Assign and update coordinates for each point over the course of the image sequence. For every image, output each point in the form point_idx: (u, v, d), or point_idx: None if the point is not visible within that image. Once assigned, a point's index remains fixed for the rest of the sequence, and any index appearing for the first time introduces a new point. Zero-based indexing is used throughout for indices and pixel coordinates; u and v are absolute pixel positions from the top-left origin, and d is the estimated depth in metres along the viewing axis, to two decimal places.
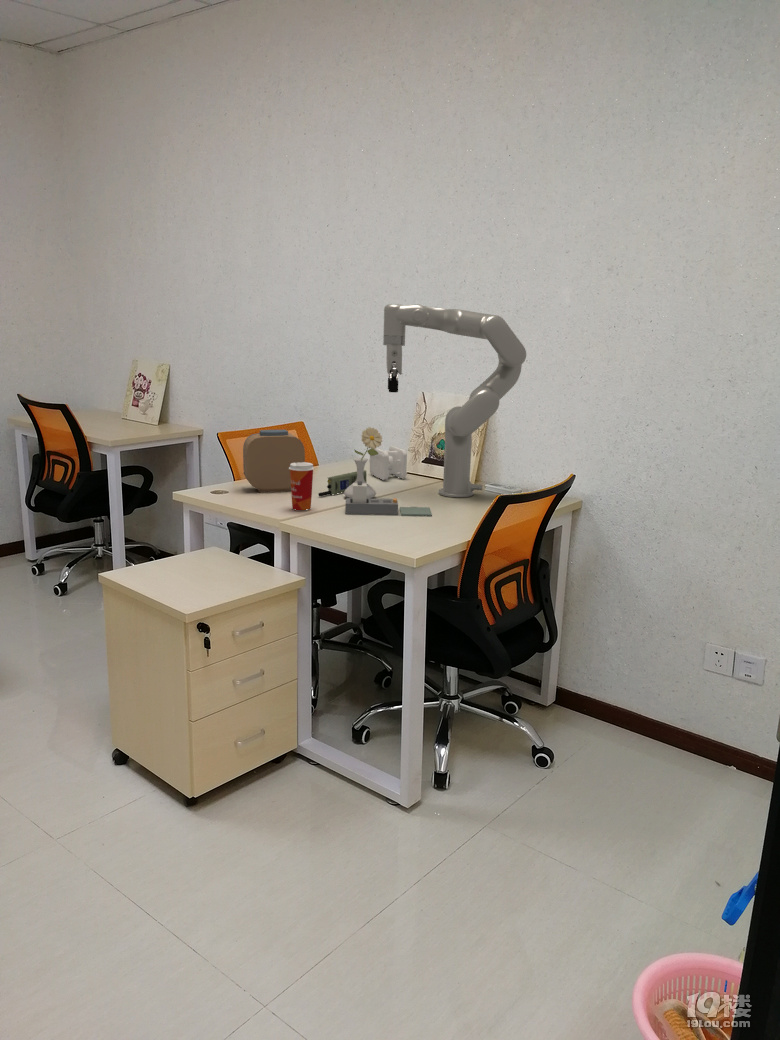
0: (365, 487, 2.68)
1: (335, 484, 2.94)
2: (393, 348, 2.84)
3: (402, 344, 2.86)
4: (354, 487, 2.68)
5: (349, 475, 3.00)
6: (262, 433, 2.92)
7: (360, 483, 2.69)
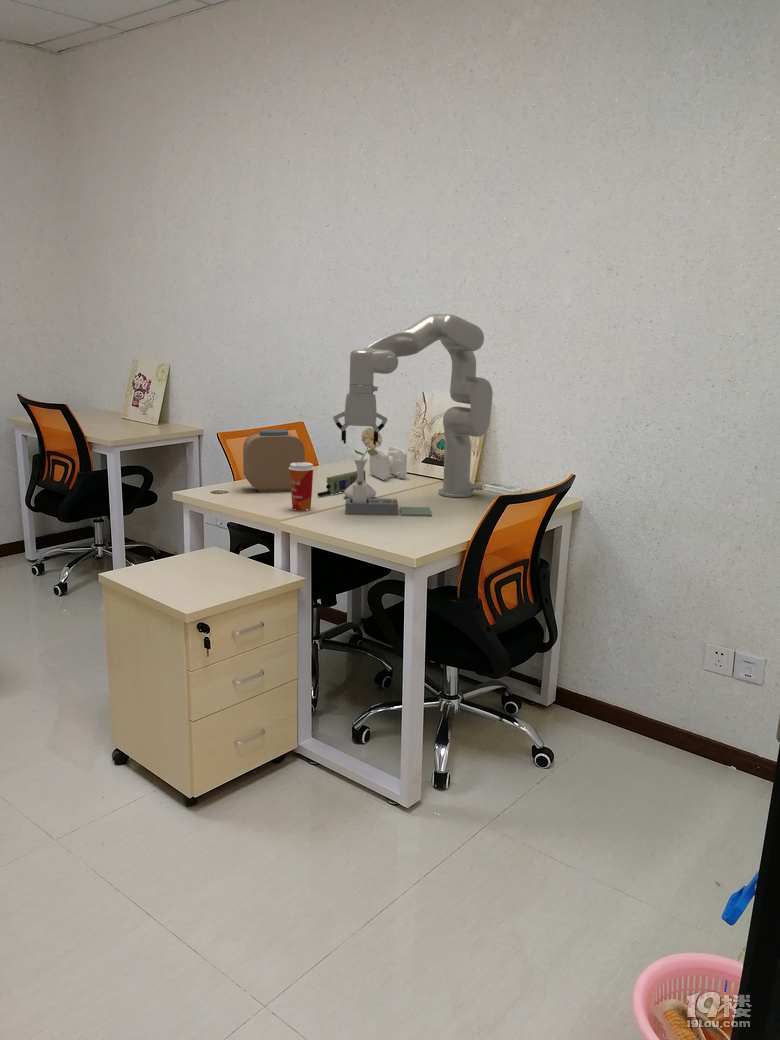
0: (365, 487, 2.68)
1: (334, 484, 2.94)
2: (375, 397, 2.63)
3: None
4: (354, 487, 2.68)
5: (348, 475, 3.00)
6: (262, 433, 2.92)
7: (360, 483, 2.69)
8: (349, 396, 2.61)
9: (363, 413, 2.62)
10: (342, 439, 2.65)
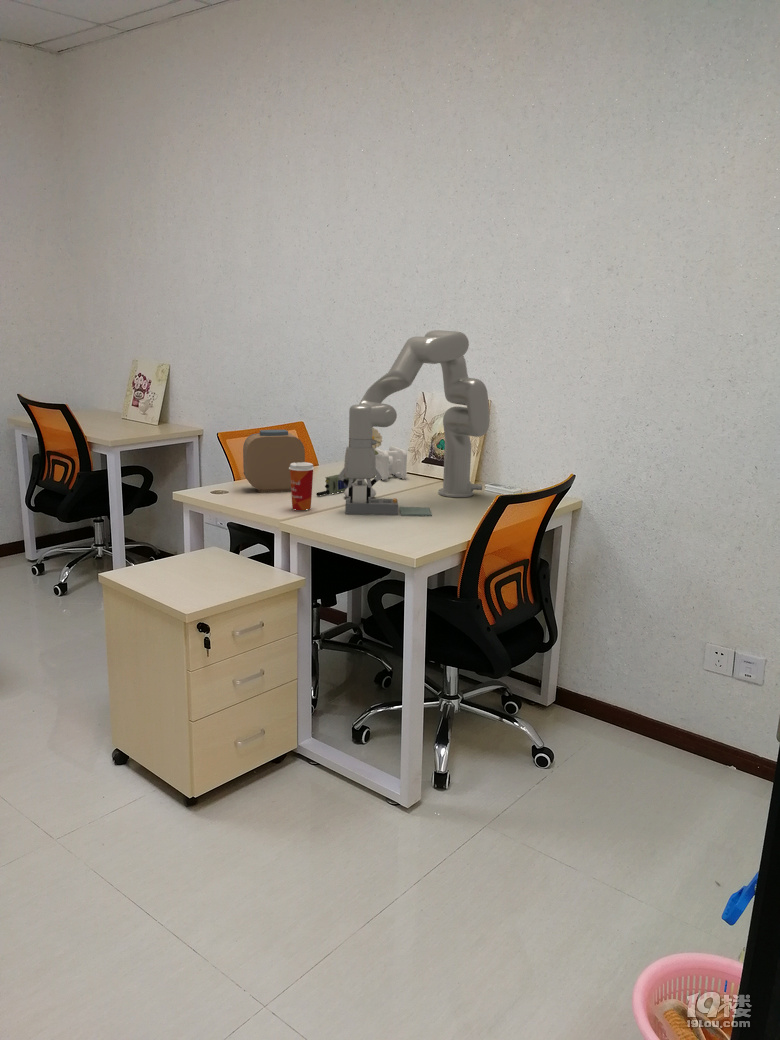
0: (365, 487, 2.68)
1: (333, 484, 2.95)
2: (374, 451, 2.67)
3: None
4: (354, 487, 2.68)
5: None
6: (262, 433, 2.92)
7: (360, 483, 2.69)
8: (349, 450, 2.65)
9: (363, 466, 2.66)
10: (349, 495, 2.70)
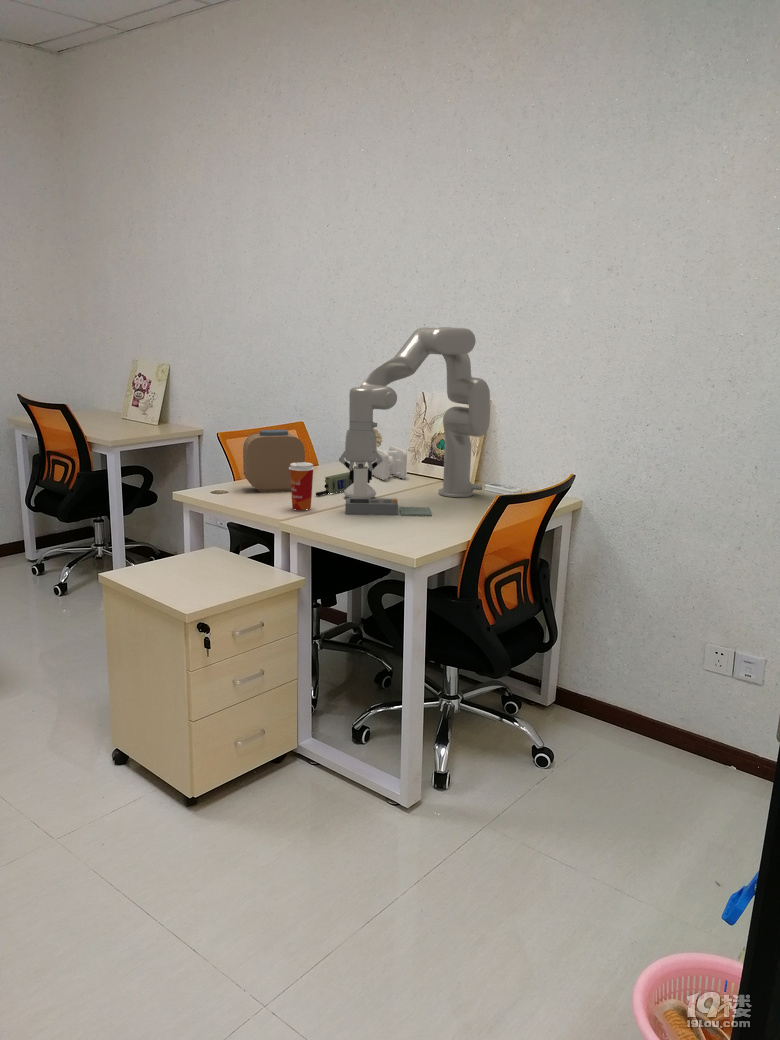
0: (366, 470, 2.67)
1: (332, 484, 2.95)
2: (375, 433, 2.66)
3: None
4: (355, 470, 2.67)
5: (346, 475, 3.01)
6: (262, 433, 2.92)
7: (361, 466, 2.68)
8: (349, 433, 2.64)
9: (364, 449, 2.65)
10: (350, 478, 2.69)
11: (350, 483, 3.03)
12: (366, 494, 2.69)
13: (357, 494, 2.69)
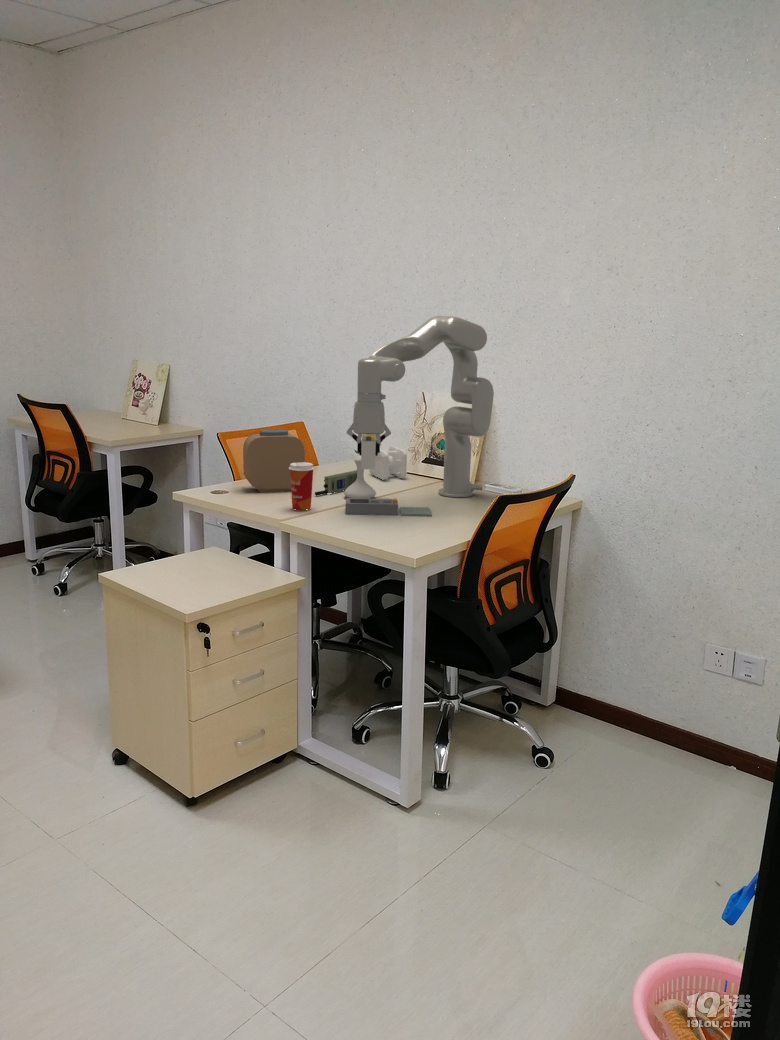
0: (374, 442, 2.65)
1: (331, 483, 2.95)
2: (383, 405, 2.64)
3: None
4: (363, 442, 2.65)
5: (346, 474, 3.01)
6: (262, 433, 2.92)
7: (369, 438, 2.66)
8: (357, 405, 2.62)
9: (372, 421, 2.63)
10: (358, 451, 2.67)
11: (349, 483, 3.03)
12: (374, 467, 2.67)
13: (364, 467, 2.67)
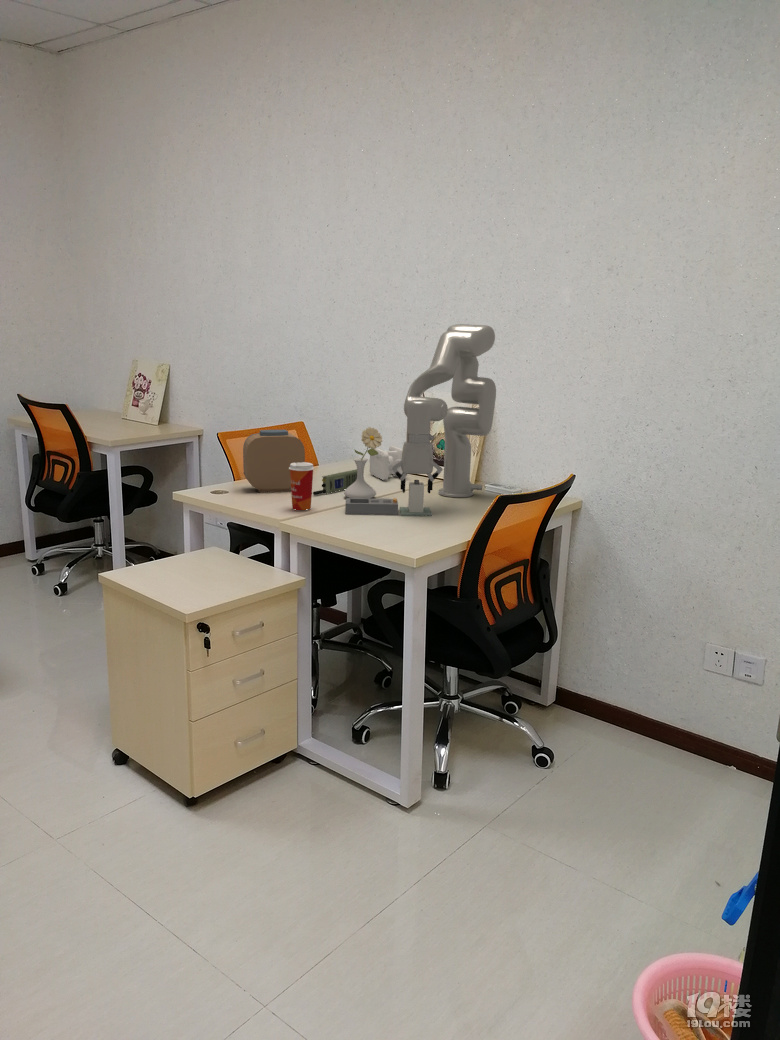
0: (422, 486, 2.69)
1: (329, 483, 2.96)
2: None
3: None
4: (411, 486, 2.69)
5: (344, 474, 3.02)
6: (262, 433, 2.92)
7: (417, 482, 2.70)
8: (407, 445, 2.66)
9: (421, 461, 2.67)
10: (401, 488, 2.70)
11: (347, 482, 3.04)
12: (422, 510, 2.71)
13: (413, 510, 2.71)
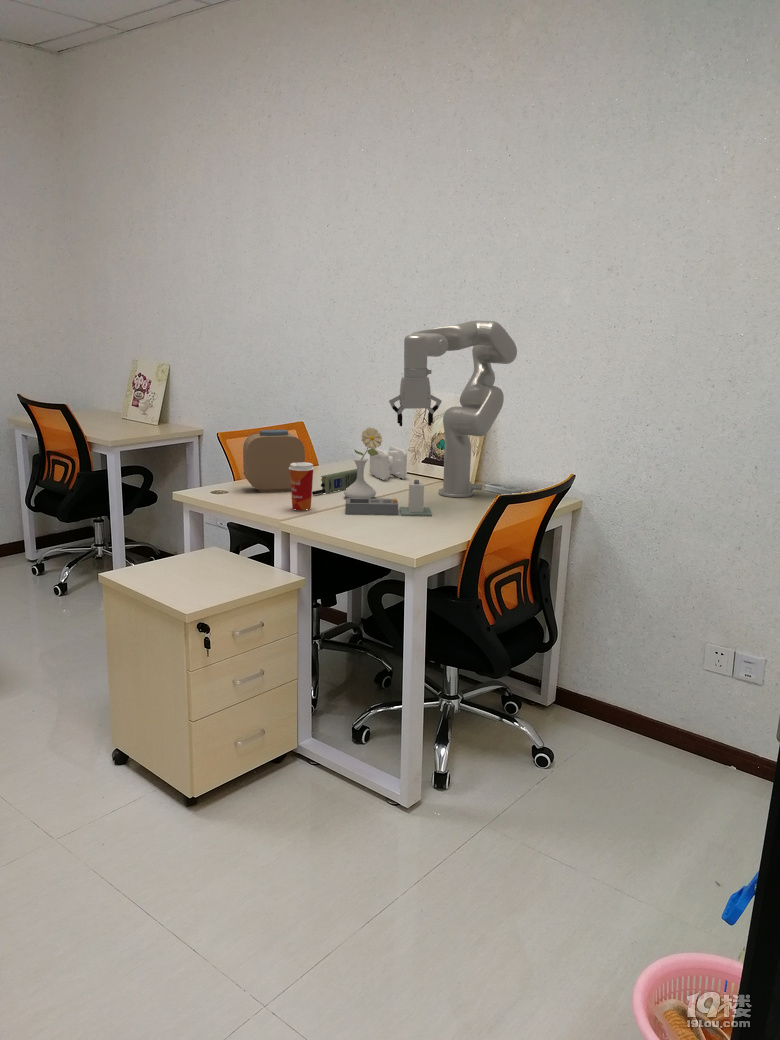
0: (422, 486, 2.69)
1: (328, 482, 2.96)
2: None
3: None
4: (411, 486, 2.69)
5: (343, 474, 3.02)
6: (262, 433, 2.92)
7: (417, 482, 2.70)
8: (405, 380, 2.70)
9: (419, 396, 2.71)
10: (398, 422, 2.75)
11: (347, 482, 3.04)
12: (422, 510, 2.71)
13: (413, 510, 2.71)
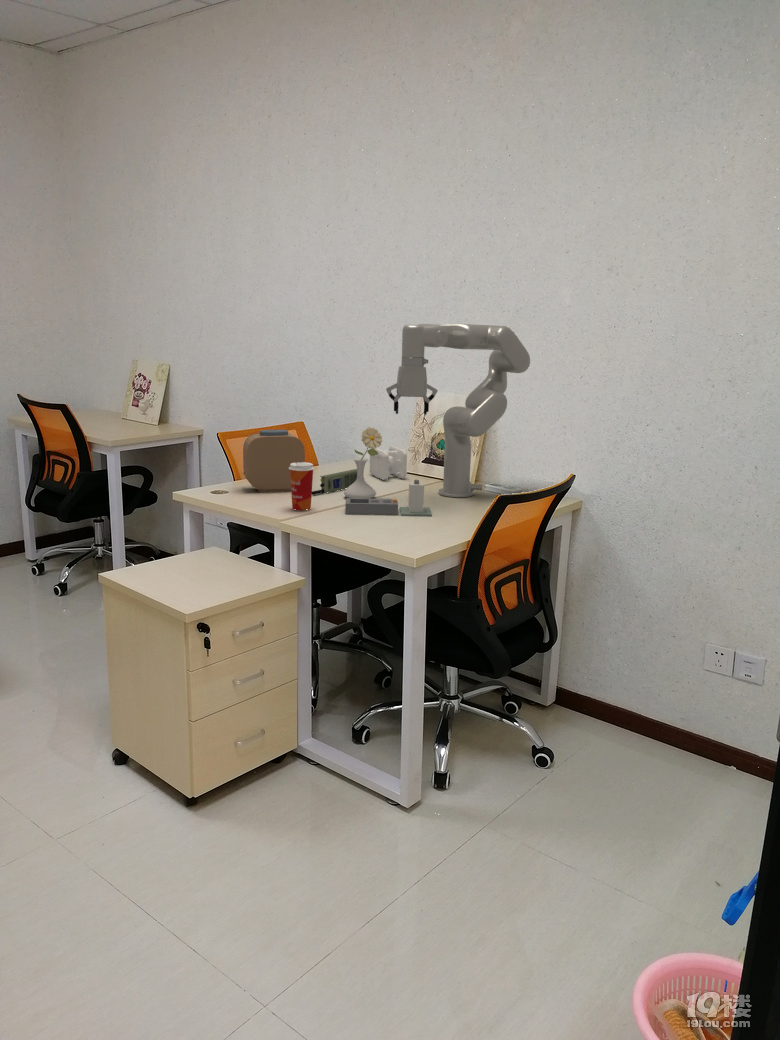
0: (422, 486, 2.69)
1: (328, 483, 2.96)
2: None
3: None
4: (411, 486, 2.69)
5: (342, 474, 3.02)
6: (262, 433, 2.92)
7: (417, 482, 2.70)
8: (402, 368, 2.76)
9: (415, 384, 2.77)
10: (395, 409, 2.81)
11: (346, 482, 3.05)
12: (422, 510, 2.71)
13: (413, 510, 2.71)
